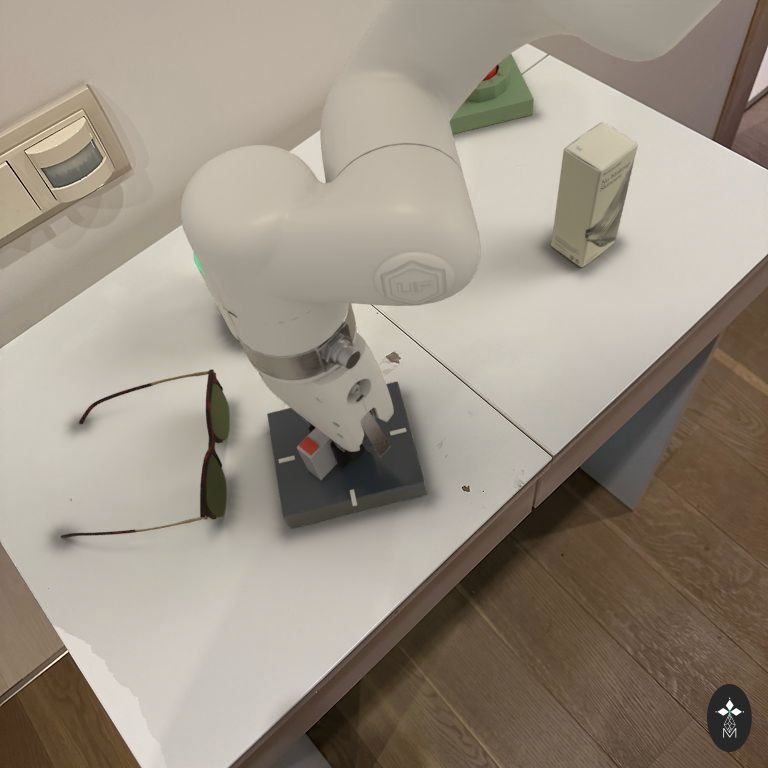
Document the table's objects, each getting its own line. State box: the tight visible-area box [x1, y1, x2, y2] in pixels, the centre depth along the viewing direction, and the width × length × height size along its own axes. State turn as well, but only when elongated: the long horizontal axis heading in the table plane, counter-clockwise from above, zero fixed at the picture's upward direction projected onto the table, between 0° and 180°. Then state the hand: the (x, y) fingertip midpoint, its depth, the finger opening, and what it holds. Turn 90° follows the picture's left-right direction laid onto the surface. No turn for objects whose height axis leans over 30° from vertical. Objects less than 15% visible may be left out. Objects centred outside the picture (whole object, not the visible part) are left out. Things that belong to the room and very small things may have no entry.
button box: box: [450, 53, 535, 135], centre depth 87 cm, size 10×10×4 cm
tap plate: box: [266, 381, 428, 529], centre depth 65 cm, size 12×11×3 cm
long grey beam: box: [297, 415, 375, 480], centre depth 62 cm, size 7×2×5 cm, turn 138°
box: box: [550, 121, 639, 268], centre depth 70 cm, size 5×4×13 cm
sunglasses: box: [60, 368, 231, 539], centre depth 67 cm, size 14×15×5 cm
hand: (342, 445), depth 64 cm, fingers closed on long grey beam
